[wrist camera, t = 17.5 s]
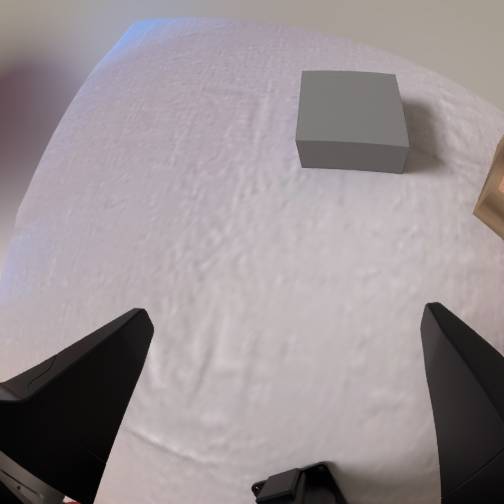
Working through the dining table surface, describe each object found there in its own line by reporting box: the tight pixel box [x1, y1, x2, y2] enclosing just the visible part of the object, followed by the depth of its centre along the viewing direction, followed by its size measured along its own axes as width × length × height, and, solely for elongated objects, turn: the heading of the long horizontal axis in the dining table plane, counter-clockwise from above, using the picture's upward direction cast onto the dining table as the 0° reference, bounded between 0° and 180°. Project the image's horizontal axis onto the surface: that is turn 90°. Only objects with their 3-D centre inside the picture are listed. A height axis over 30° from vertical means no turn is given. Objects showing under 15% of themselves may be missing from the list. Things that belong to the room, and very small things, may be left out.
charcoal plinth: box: [295, 71, 410, 174], centre depth 23 cm, size 9×9×4 cm
